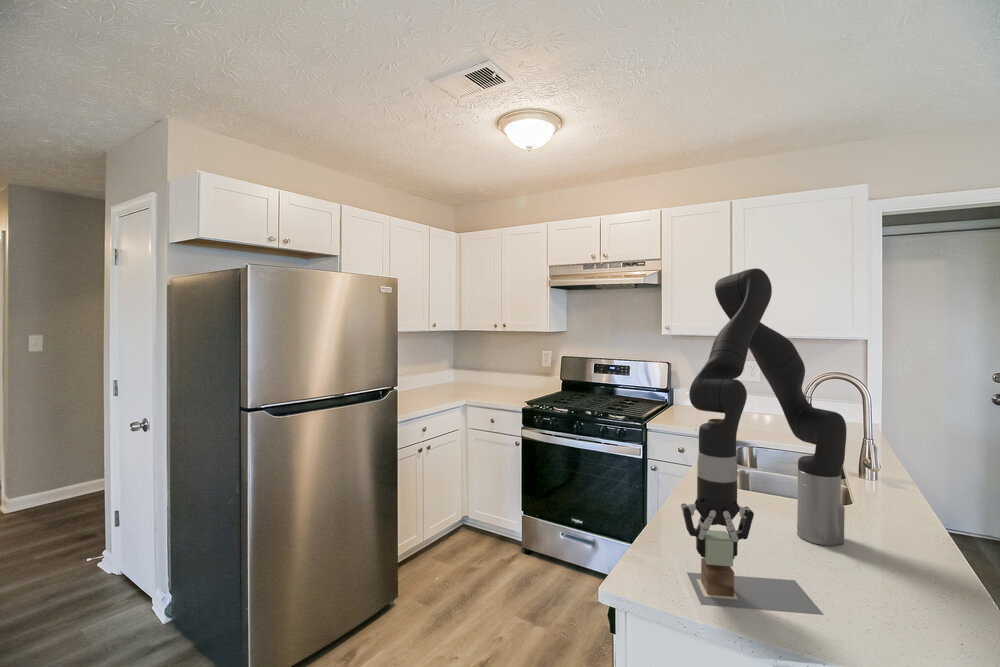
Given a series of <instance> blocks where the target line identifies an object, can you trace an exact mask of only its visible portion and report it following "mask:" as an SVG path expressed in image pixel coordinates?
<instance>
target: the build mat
mask: <svg viewBox="0 0 1000 667" xmlns="http://www.w3.org/2000/svg"><path fill="white" fill-rule="evenodd" d="M686 574H687V576H688V578H689V581H690V582H691V585H692V587H693V589H694V592H695V594H696V596H697V598H698V601H699V603H700V605H701V606H712V607H713V606H714V607H725V608H726V607H727V608H737V609H747V610H748V609H749V610H750V609H751V610H761V611H773V612H774V611H775V612H783V613H784V612H786V613H797V614H798V613H799V614H810V615H811V614H812V615H825V614H824V613H823V612H822V611H821V610H820V608H819V607H818V606H817V604H816V603H815V602H814V601H813V600H812V599H811V597H809V595H808V593H806V591H804V590H803V588H802V587H801V586H800V585H799V583H798V582H797V581H796V579H785V578H784V579H783V578H768V577H757V576H756V577H755V576H741V575H734V597H730V596H717V595H708V594H707V592H706V590H705V588H704V586H703V584H702V582H701V572H700V573H699V572H689V571H688V572H686Z"/></svg>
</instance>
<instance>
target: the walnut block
mask: <svg viewBox="0 0 1000 667" xmlns="http://www.w3.org/2000/svg"><path fill="white" fill-rule="evenodd" d="M700 562H701V563H700V566H701V567H700V568H701V570H700V571H701V572H700V573H701V582H702V584H703V586H704V588H705V590H706V592H707V594H708V595H717V596H730V597H734V576H735V571H734V570H733V568H732V566H720V565H707V564H706V562H705V560H704V558H703V557H701V559H700Z"/></svg>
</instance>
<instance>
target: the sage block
mask: <svg viewBox="0 0 1000 667" xmlns="http://www.w3.org/2000/svg"><path fill="white" fill-rule="evenodd" d="M704 539H705V557H702V558H704V560H705V562H706V564H707V565H720V566H730V567H734V559H733V541H732V539H731V538H730V536H729V535H728V532H727V530H717V529H715V530H714V529H709V530H708V531H707V533H706V535H705V538H704Z"/></svg>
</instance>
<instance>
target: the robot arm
mask: <svg viewBox="0 0 1000 667" xmlns="http://www.w3.org/2000/svg"><path fill="white" fill-rule="evenodd" d="M771 282H772V281H771V279H770V278H769V276H768V275H767V273H766V272H765V271H764V270H762V269H761V268H757V267H756V268H750V269H745V270H741V271H740V272H736V273H733V274H729V275H726V276H723V277H721V278H720V279H718V280H717V281H716V282H715V285H714V291H715V293H714V294H715V296H716V300H717V301H718V304H719V306H720V307H721V309H722V310H723V312H724V313H725V315H726V316H727V318H728V319H729V321H727V323H726V324H725V325H724V326H723V328H722V329H720V331H719V332H718V334H717V335H716V337H715V339H714V341H713V343H712V346H711V351H710V353H709V357H708V360H707V361H706V363H705V364H704V366H703V367H702V369H701V370H700V371H699V372H698V374H697V375H696V377H694V379H693V381H692V383H691V385H690V388H689V393H688V395H689V396H688V397H689V401H690V403H691V405H692V407H694V408H695V409H696V410H698V411H703V412H710V413H711V412H712V413H720V414H724V418H723V419H724V420H723V421H721V422H710V423H708V422H705V423H702V424H701V425H700V426H699V430H698V455H697V464H696V467H697V469H696V471H697V473H696V474H697V475H696V479H697V481H696V482H697V484H696V486H697V487H696V499H695V502H694V503H691V504H690V503H689V504H687V503H682V504H681V505H680V507H681V511H682V514H683V515H682V516H683V518H684V519H683V520H684V523H685V527H686V530H687V532H688V535H689V536H690V537H695V540H696V542H695V546H696V547H695V549H696V551H697V553H698V555H700V557H701V558H703V557H705V539H704V538H705V535H706V533H707V531H708V530H710V528H711V526H715V525H716V526H717V525H719V526H724V527H725V530H726V532H727V533H728V535H729V536H730V538H731V539H732V541H733V560H735V557H737V555H738V547H739V546H738V542H739V541H740V540H747V539H748V538H749V534H750V530H751V527H752V523H753V519H754V516H755V514H754V511H753V510H752V509H751V508H750V507H749V506H744V507H743V506H741V505H740V506H739V504H738V477H739V472H738V460H737V434H738V429H739V424H740V421H741V417H742V414H743V412H744V408H745V406H746V402H747V398H748V392H747V389H746V386H745V385H744V383H743V382H741V381H740V380H738V379H737V378H739V377H740V376H741V375H742V374H743V372H744V368H745V364H746V362H747V361H746V360H747V355H748V352H749V351H750V353H751V354H752V356H753V358H754V360H755V362H756V364H757V366H758V367H759V369H760V371H761V373H762V374H763V376H764V377H765V379H766V381H767V382H768V385H769V386H770V388H771V389H772V392H773V393H774V396H775V397H776V398H777V401H778V403H779V405H780V407H781V410H782V412H783V414H784V417H785V419H786V421H787V423H788V425H789V429H790V431H791V432H792V434H793V435H794V436H795V438H797V439H798V440H800V441H802V442H804V443H808V444H811V445H815V448H814V454H812V455H804V456H800V457H798V460H797V510H796V511H797V513H796V514H797V515H796V516H797V517H796V518H797V519H796V520H797V521H796V523H797V524H796V530H797V531H796V534H797V536H798V537H799V538H800V539H802V540H805V541H807V542H809V543H813V544H816V545H821V546H830V547H831V546H838V545H840V544H841V545H844V544H845V516H846V514H845V511H846V509H845V506H844V505H843V504H842V503H841V502H842V469H843V466H844V463H845V456H846V444H847V423H846V420H845V418H844V417H843V415H842V414H841V413H838V412H836V411H833V410H828V409H822V408H818V407H817V408H816V407H813V406H812V405H811V404H810V403H809V401H808V400H807V398H806V396H805V394H804V392H803V383H804V380H805V375H806V367H805V366H806V365H805V363H804V360H803V359H802V357H801V356H800V354H799V351H798V350H797V348H796V346H795V345H794V343H793V342H792V341H791V340H790V339H788V338H787V337H786V336H785V335H784V334H781V333H780V332H778V331H776V330H774V329H772V328H770V327H769V326H768V325H766V324H764V323H762V322H761V320H762V319H763V316H764V314H765V312H766V310H767V308H768V305H769V304H770V301H771V298H772V294H773V289H772V288H773V287H772V286H773V285H772V283H771ZM695 511H697V513H699V515H700V517H699V519H698V524H697V527H694V521H693V516H694V515H695ZM738 513H739V516H740V519H739V523H738V524H739V525H738V528H737V530H736V528H735V525H734V522H733V520H734V518H736V516H737V515H738Z"/></svg>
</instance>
